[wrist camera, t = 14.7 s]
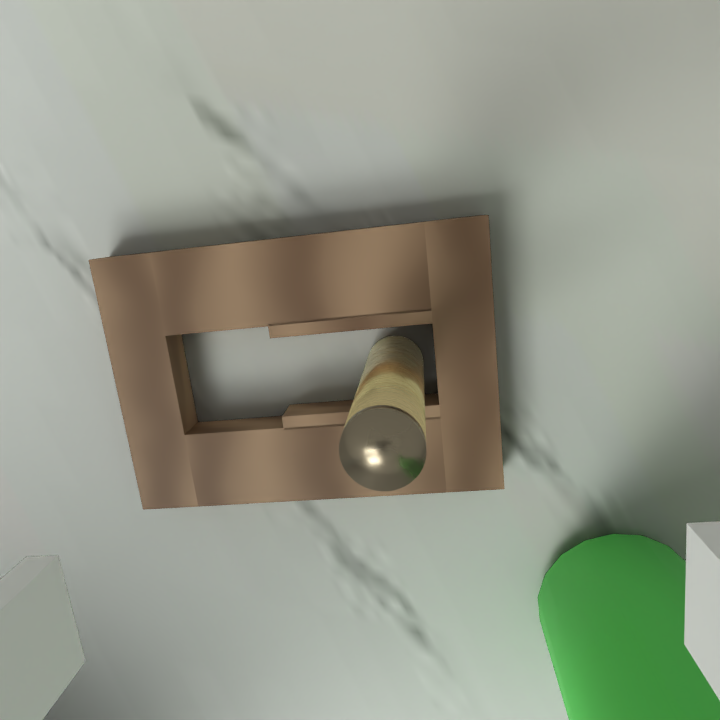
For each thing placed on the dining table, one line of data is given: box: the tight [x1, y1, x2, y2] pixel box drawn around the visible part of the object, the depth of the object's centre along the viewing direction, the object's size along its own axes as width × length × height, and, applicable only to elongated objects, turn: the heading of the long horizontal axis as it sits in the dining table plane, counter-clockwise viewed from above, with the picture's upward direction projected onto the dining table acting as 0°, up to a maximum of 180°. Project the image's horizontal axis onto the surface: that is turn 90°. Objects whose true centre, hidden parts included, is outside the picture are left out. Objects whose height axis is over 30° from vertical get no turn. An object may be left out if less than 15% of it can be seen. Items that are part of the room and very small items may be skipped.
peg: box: [339, 336, 426, 491], centre depth 26 cm, size 3×3×12 cm
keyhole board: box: [89, 215, 504, 509], centre depth 31 cm, size 20×14×2 cm
